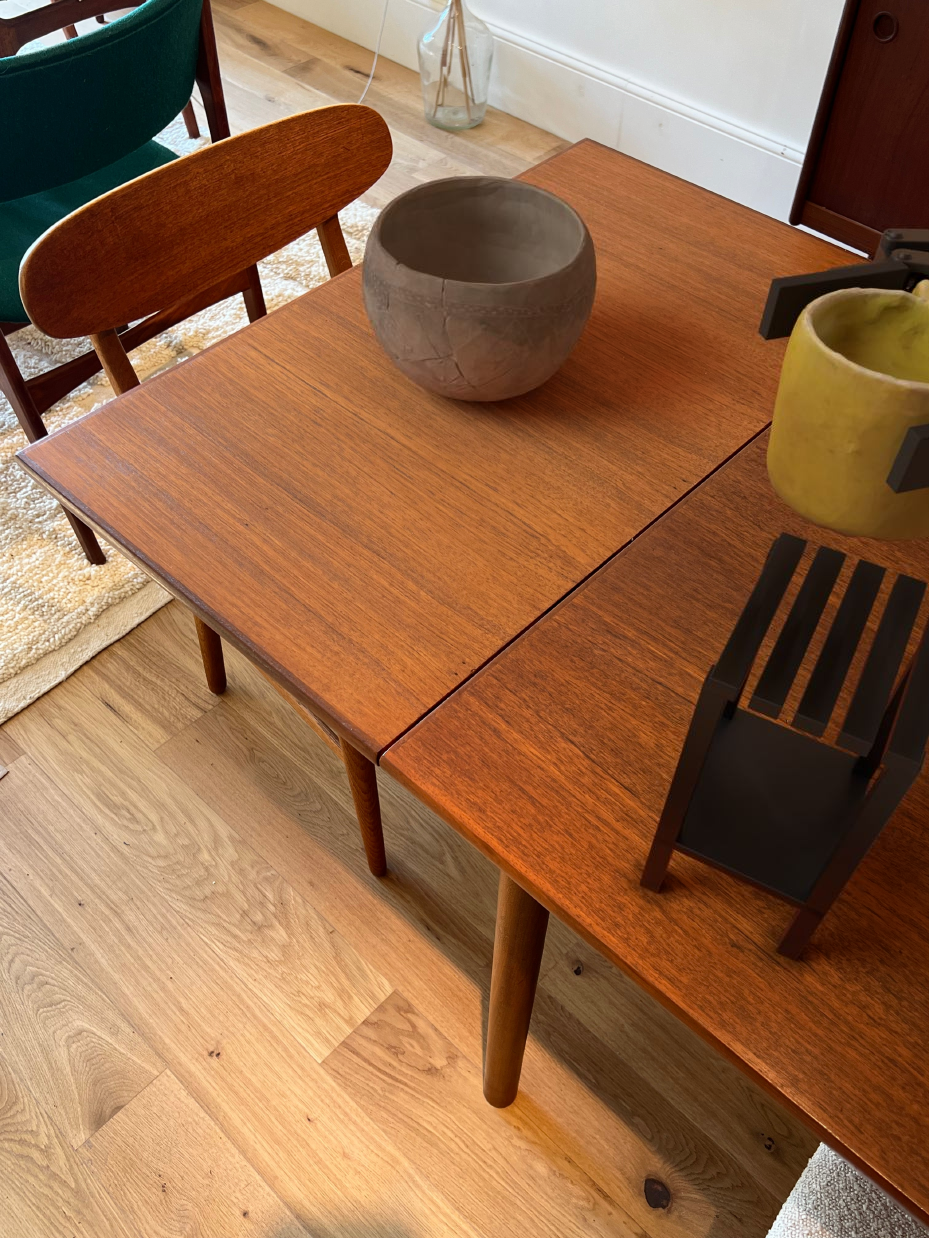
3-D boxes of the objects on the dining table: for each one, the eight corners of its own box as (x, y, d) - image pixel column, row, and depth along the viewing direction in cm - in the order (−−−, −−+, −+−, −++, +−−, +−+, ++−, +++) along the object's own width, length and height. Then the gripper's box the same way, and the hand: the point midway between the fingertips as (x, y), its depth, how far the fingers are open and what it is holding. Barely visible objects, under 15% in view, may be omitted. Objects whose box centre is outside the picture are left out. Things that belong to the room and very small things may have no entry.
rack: (844, 817, 64) (974, 598, 48) (794, 963, 58) (925, 766, 42) (700, 754, 67) (778, 529, 51) (637, 886, 61) (704, 675, 45)
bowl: (591, 442, 89) (612, 289, 77) (359, 437, 89) (345, 284, 78) (578, 313, 103) (594, 167, 91) (377, 308, 103) (368, 163, 91)
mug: (953, 590, 39) (992, 335, 35) (721, 537, 46) (728, 315, 41) (1048, 491, 47) (1091, 271, 42) (838, 457, 53) (855, 263, 49)
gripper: (1413, 530, 42) (954, 637, 37) (1058, 259, 56) (698, 314, 52) (1565, 380, 36) (1045, 485, 32) (1126, 121, 50) (728, 170, 46)
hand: (829, 379), depth 42 cm, fingers closed on mug, 10 cm apart
